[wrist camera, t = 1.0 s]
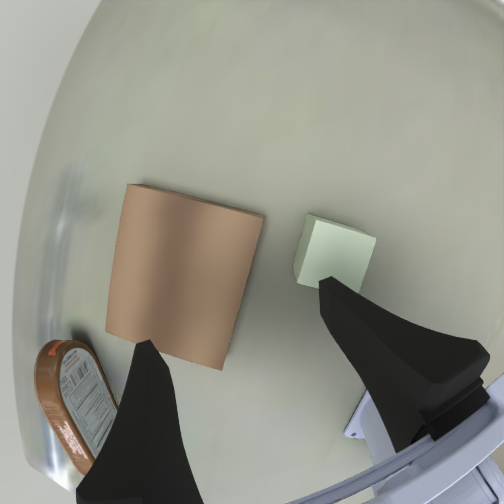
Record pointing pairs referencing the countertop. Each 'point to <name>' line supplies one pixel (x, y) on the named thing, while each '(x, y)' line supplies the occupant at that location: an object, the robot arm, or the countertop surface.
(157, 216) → the walnut block
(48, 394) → the tin
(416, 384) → the robot arm
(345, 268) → the sage cube
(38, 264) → the countertop surface
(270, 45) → the countertop surface
